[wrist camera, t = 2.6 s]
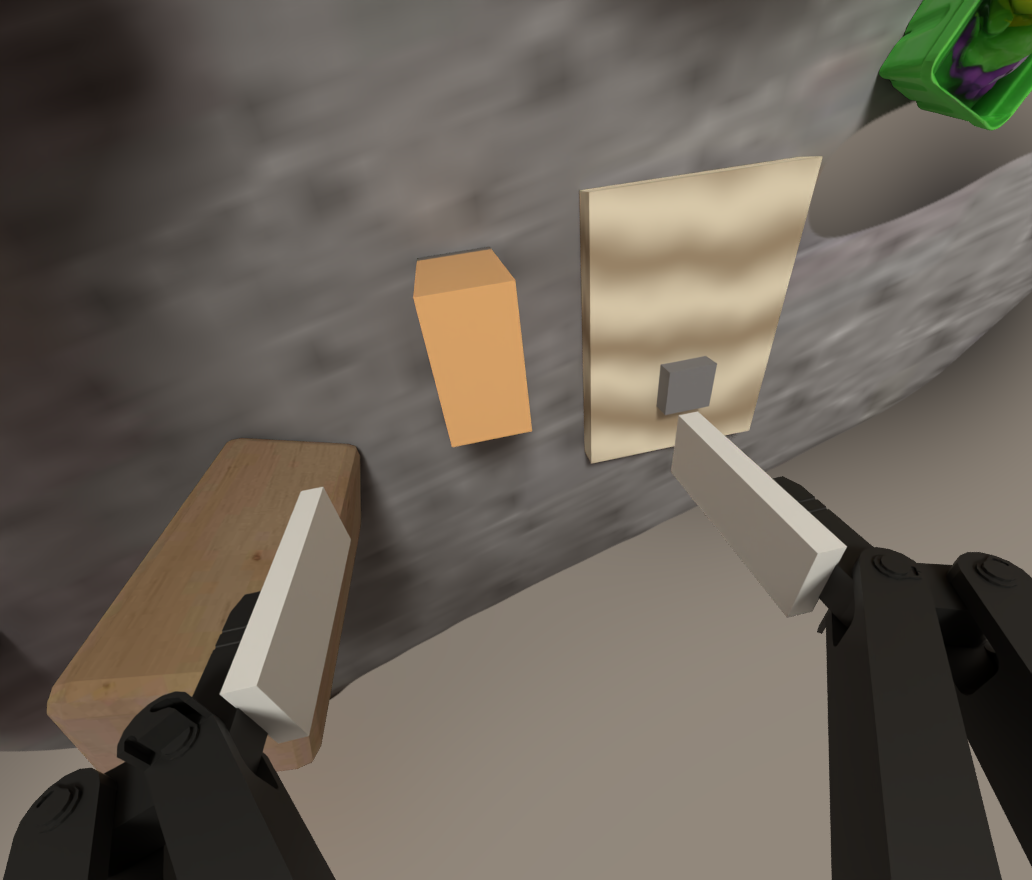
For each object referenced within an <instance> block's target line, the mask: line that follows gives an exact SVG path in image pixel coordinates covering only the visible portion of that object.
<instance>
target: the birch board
mask: <svg viewBox="0 0 1032 880" xmlns="http://www.w3.org/2000/svg"><path fill="white" fill-rule="evenodd" d="M822 157H823V156H821V157H796V158H789V159H783V160H776V161H770V162H763V163H756V164H750V165H743V166H737V167H730V168H724V169H717V170H711V171H704V172H697V173H691V174H684V175H678V176H671V177H665V178H658V179H652V180H645V181H639V182H632V183H625V184H619V185H612V186H606V187H599V188H593V189H586V190H580V191H579V195H580V244H581V294H582V344H583V393H584V443H585V453H586V455H587V456H588V458H589V460H590V462H591V464H592V463H596V462H601V461H606V460H611V459H615V458H620V457H625V456H630V455H634V454H639V453H644V452H649V451H653V450H658V449H663V448H667V447H672V446H675V438H676V431H677V423H678V416H679V415H683V414H688V413H693V412H699V413H700V414H701V415H702V416H703V417H705V418H706V419H707V420H708V421H709V422H710V423H711V424H712V425H713V426H714V427H716V428H717V429H718V430H719V431H720V432H721V433H722V434H723V435H729V434H734V433H738V432H743V431H748V430H749V428H750V425H751V421H752V417H753V413H754V410H755V406H756V402H757V399H758V395H759V391H760V387H761V384H762V380H763V376H764V373H765V369H766V365H767V361H768V358H769V354H770V350H771V347H772V343H773V339H774V335H775V332H776V328H777V324H778V321H779V317H780V313H781V309H782V306H783V302H784V298H785V294H786V291H787V287H788V283H789V280H790V276H791V272H792V268H793V265H794V261H795V257H796V254H797V250H798V246H799V242H800V239H801V235H802V231H803V228H804V224H805V220H806V216H807V213H808V209H809V205H810V202H811V198H812V194H813V190H814V187H815V183H816V179H817V176H818V172H819V168H820V164H821V161H822ZM703 356H707V357H708V358H710V359H711V360H713V361H714V362H716V363H717V367H716V373H715V378H714V383H713V388H712V394H711V399H710V404H709V406H708V407H703V408H698V409H693V410H688V411H683V412H678V413H674V414H669V415H664V414H663V413H662V411H661V410H660V409H659V408H658V407H657V406H656V405H657V395H658V385H659V375H660V365H661V364H666V363H672V362H677V361H682V360H687V359H692V358H698V357H703Z"/></svg>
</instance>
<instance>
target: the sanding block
mask: <svg viewBox="0 0 1032 880" xmlns="http://www.w3.org/2000/svg"><path fill="white" fill-rule="evenodd" d="M413 298H414V302H415V306H416V310H417V314H418V317H419V321H420V325H421V329H422V333H423V337H424V341H425V344H426V348H427V352H428V356H429V360H430V364H431V368H432V371H433V375H434V379H435V383H436V387H437V391H438V395H439V398H440V402H441V406H442V410H443V414H444V418H445V422H446V425H447V429H448V433H449V437H450V441H451V445H452V447H456V446H461V445H466V444H471V443H476V442H481V441H485V440H490V439H495V438H500V437H505V436H510V435H515V434H520V433H525V432H530V431H532V426H531V417H530V408H529V399H528V390H527V381H526V372H525V363H524V354H523V345H522V336H521V328H520V319H519V310H518V301H517V292H516V283H515V279H514V278H513V277H512V276H511V274H510V273H509V272H508V270H507V269H506V268H505V266H504V265H503V264H502V262H501V261H500V260H499V259H498V257H497V256H496V255H495V253H494V252H493V251H492V249H491V248H490V247H484V248H477V249H471V250H465V251H459V252H453V253H446V254H440V255H434V256H428V257H422V258H417V265H416V276H415V286H414V296H413Z"/></svg>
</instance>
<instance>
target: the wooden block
mask: <svg viewBox="0 0 1032 880" xmlns="http://www.w3.org/2000/svg"><path fill="white" fill-rule="evenodd" d="M319 487H324V489H325V491H326V493H327V495H328V497H329V498H330V500H331V502H332V504H333V506H334V508H335V510H336V512H337V514H338V516H339V518H340V519H341V521H342V523H343V525H344V527H345V529H346V531H347V533H348V535H349V537H350V539H351V542H350V547H349V551H348V556H347V561H346V565H345V570H344V575H343V579H342V584H341V589H340V594H339V598H338V603H337V608H336V612H335V617H334V622H333V626H332V631H331V636H330V640H329V645H328V650H327V654H326V659H325V664H324V668H323V673H322V678H321V683H320V687H319V692H318V697H317V701H316V706H315V711H314V715H313V720H312V725H311V729H310V734H309V736H307V737H303V738H299V739H295V740H291V741H287V742H283V743H279V744H278V743H277V742H276V741H275V740H273V739H272V738H271V737H270V736H269V735H267V739H266V742H265V746H264V749H263V753H265V754H266V755H267V756H268V758H269V760H270V762H271V763H272V765H273V767H274V769H275V771H276V772H277V771H285V770H293V769H298V768H300V767H303V766H305V765H307V764H309V763H312V761H313V760H314V758H315V756H316V754H317V752H318V751H319V749H320V747H321V744H322V738H323V732H324V726H325V722H326V716H327V710H328V705H329V699H330V694H331V688H332V683H333V677H334V672H335V666H336V660H337V655H338V649H339V644H340V638H341V633H342V627H343V622H344V616H345V610H346V605H347V599H348V594H349V588H350V583H351V577H352V571H353V566H354V560H355V555H356V549H357V544H358V538H359V533H360V527H361V484H360V455H359V453H358V451H357V448H356V446H353V445H350V444H341V443H323V442H305V441H286V440H268V439H249V438H239V439H234V440H231V441H229V442H227V443H226V445H225V446H224V447H223V449H222V450H221V452H220V453H219V454H218V456H217V457H216V459H215V460H214V461H213V463H212V464H211V466H210V467H209V468H208V470H207V471H206V473H205V474H204V475H203V477H202V478H201V480H200V481H199V482H198V484H197V485H196V487H195V488H194V489H193V491H192V492H191V494H190V495H189V496H188V498H187V499H186V501H185V502H184V503H183V505H182V506H181V508H180V509H179V510H178V512H177V513H176V515H175V516H174V517H173V519H172V520H171V522H170V523H169V524H168V526H167V527H166V529H165V530H164V531H163V533H162V534H161V536H160V537H159V538H158V540H157V541H156V543H155V544H154V545H153V547H152V548H151V550H150V551H149V552H148V554H147V555H146V557H145V558H144V559H143V561H142V562H141V564H140V565H139V566H138V568H137V569H136V571H135V572H134V574H133V575H132V576H131V578H130V579H129V581H128V582H127V583H126V585H125V586H124V588H123V589H122V590H121V592H120V593H119V595H118V596H117V597H116V599H115V600H114V602H113V603H112V604H111V606H110V607H109V609H108V610H107V611H106V613H105V614H104V616H103V617H102V618H101V620H100V621H99V623H98V624H97V625H96V627H95V628H94V630H93V631H92V632H91V634H90V635H89V637H88V638H87V639H86V641H85V642H84V644H83V645H82V646H81V648H80V649H79V651H78V652H77V653H76V655H75V656H74V658H73V659H72V660H71V662H70V663H69V665H68V666H67V667H66V669H65V670H64V672H63V673H62V674H61V676H60V677H59V679H58V680H57V681H56V683H55V684H54V686H53V687H52V690H51V693H50V696H49V700H48V703H47V715H48V716H49V717H50V718H51V719H52V720H53V721H54V722H55V724H56V725H57V726H58V727H59V728H60V729H61V730H62V731H63V733H64V734H65V735H66V736H67V737H68V738H69V739H70V740H71V741H72V743H73V744H74V745H75V746H76V747H77V748H78V749H79V750H80V751H81V753H82V754H83V755H84V756H85V757H86V758H87V759H88V761H89V762H90V763H91V764H92V765H93V766H94V767H95V768H96V770H97V771H99V772H101V773H103V774H104V773H106V772H107V771H109V770H111V769H113V768H115V767H117V766H118V765H120V764H122V763H124V762H125V761H123V760H121V759H119V758H117V745H118V742H119V740H120V738H121V736H122V734H123V731H124V730H125V729H126V727H127V726H128V725H129V723H130V722H131V721H132V719H133V718H134V717H135V716H136V715H137V714H138V713H139V712H140V711H141V710H142V709H144V708H145V707H146V706H147V705H148V704H149V703H151V702H153V701H154V700H156V699H157V698H159V697H161V696H162V695H165V694H168V693H171V692H174V691H179V692H186V693H188V694H189V695H190V696H191V697H192V696H193V694H194V691H195V689H196V687H197V685H198V682H199V680H200V678H201V676H202V674H203V671H204V669H205V667H206V665H207V662H208V660H209V658H210V656H211V654H212V651H213V650H215V645H216V643H217V640H218V638H219V636H220V634H222V629H223V627H224V625H225V623H226V620H227V618H228V616H229V614H230V612H231V611H232V609H233V608H234V607H235V606H236V605H237V603H238V602H239V601H240V600H241V599H242V597H243V596H244V595H245V594H250V593H254V592H259V591H261V590H262V587H263V585H264V582H265V580H266V577H267V575H268V572H269V570H270V567H271V565H272V562H273V560H274V557H275V555H276V552H277V550H278V547H279V545H280V542H281V540H282V537H283V535H284V532H285V530H286V527H287V525H288V522H289V520H290V517H291V515H292V512H293V510H294V507H295V505H296V502H297V500H298V497H299V495H300V493H301V491H304V490H309V489H314V488H319Z"/></svg>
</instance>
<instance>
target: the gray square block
mask: <svg viewBox="0 0 1032 880" xmlns="http://www.w3.org/2000/svg"><path fill="white" fill-rule="evenodd" d="M716 367H717V363H716V362H714V361H713V360H711V359H710V358H708V357H707V356H703V357H698V358H692V359H687V360H682V361H677V362H672V363H666V364H661V365H660V375H659V385H658V395H657V405H656V406H657V407H658V408H659V409H660V410H661V411H662V413H663V414H664V415H669V414H674V413H678V412H683V411H688V410H693V409H698V408H703V407H708V406H709V404H710V399H711V394H712V388H713V383H714V378H715V373H716Z"/></svg>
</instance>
